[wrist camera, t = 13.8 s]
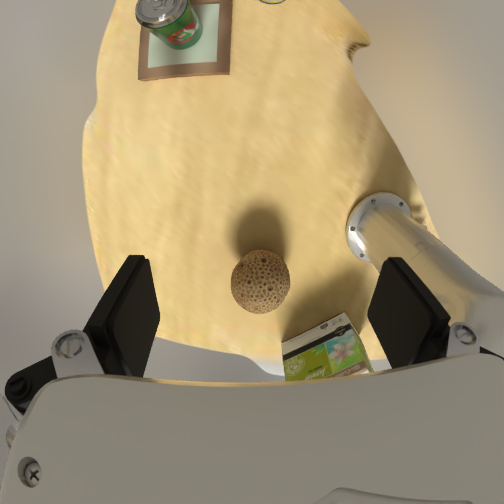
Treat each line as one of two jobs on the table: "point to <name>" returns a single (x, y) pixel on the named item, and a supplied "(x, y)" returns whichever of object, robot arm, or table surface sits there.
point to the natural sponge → (260, 281)
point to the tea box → (326, 352)
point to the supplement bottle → (271, 2)
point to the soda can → (170, 22)
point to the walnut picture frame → (196, 57)
